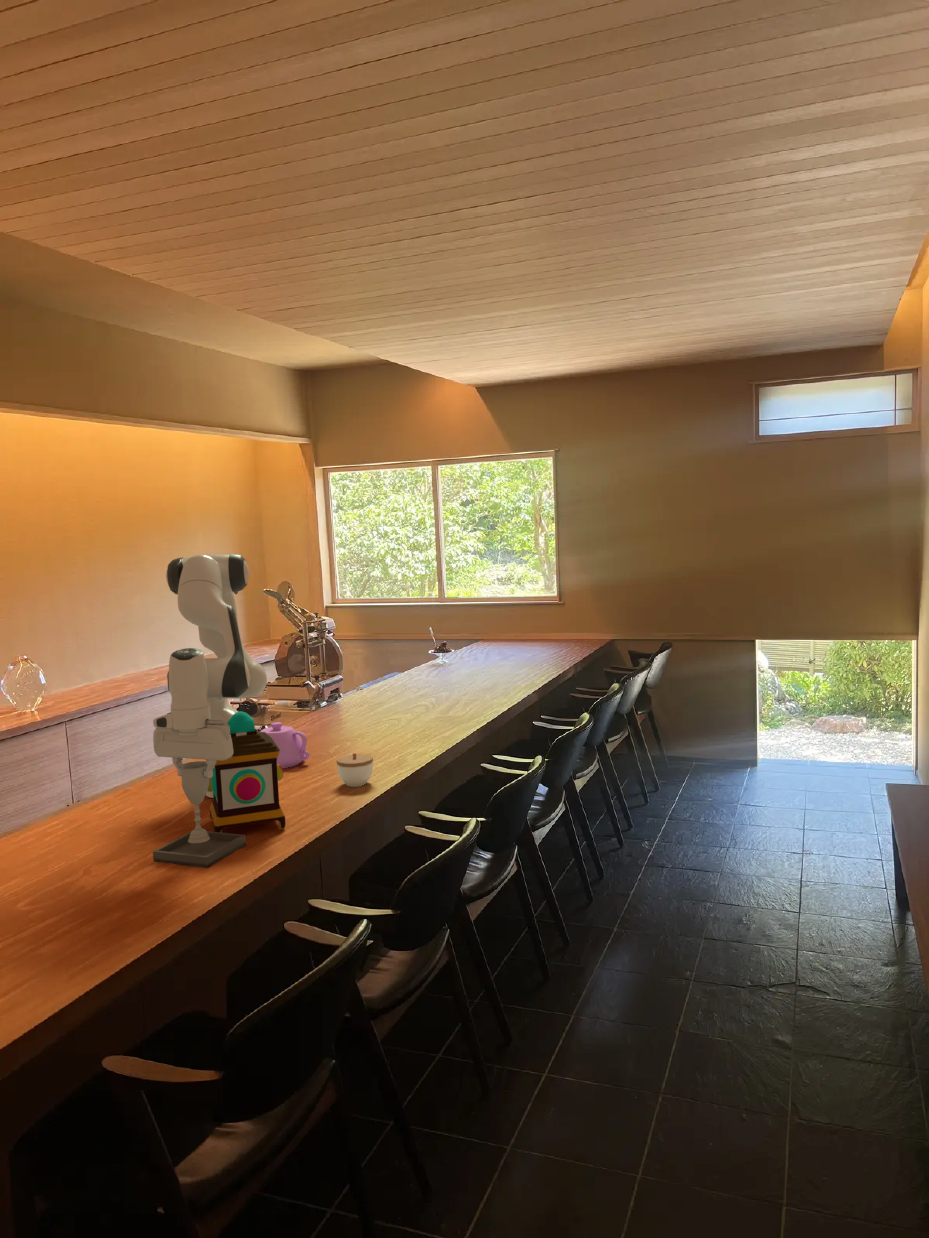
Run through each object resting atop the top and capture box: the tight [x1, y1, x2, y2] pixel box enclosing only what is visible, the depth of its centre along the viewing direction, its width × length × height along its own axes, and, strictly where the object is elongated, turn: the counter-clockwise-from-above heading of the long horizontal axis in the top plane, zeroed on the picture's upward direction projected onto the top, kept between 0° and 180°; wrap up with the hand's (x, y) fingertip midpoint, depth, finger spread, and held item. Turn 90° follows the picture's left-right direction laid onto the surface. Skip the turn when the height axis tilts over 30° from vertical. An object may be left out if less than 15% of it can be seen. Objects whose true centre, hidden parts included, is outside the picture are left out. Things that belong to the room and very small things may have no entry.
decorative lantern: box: [207, 710, 286, 833], centre depth 222 cm, size 20×20×30 cm
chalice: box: [179, 760, 210, 843], centre depth 203 cm, size 7×7×18 cm
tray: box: [152, 830, 247, 869], centre depth 204 cm, size 15×15×2 cm
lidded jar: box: [336, 752, 374, 788], centre depth 257 cm, size 11×11×9 cm
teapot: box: [259, 721, 311, 770], centre depth 285 cm, size 25×18×14 cm
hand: (195, 776), depth 202 cm, fingers closed on chalice, 6 cm apart
